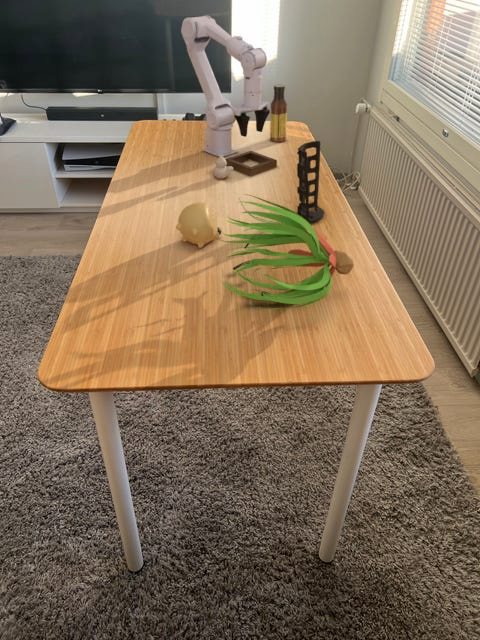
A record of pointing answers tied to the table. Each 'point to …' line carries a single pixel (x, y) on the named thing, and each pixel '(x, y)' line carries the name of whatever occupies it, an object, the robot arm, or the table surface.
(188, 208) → the toy pig
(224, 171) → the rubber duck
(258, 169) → the brown wooden square frame
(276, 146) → the table surface
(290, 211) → the decorative plant
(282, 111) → the sauce bottle
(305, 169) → the holder
